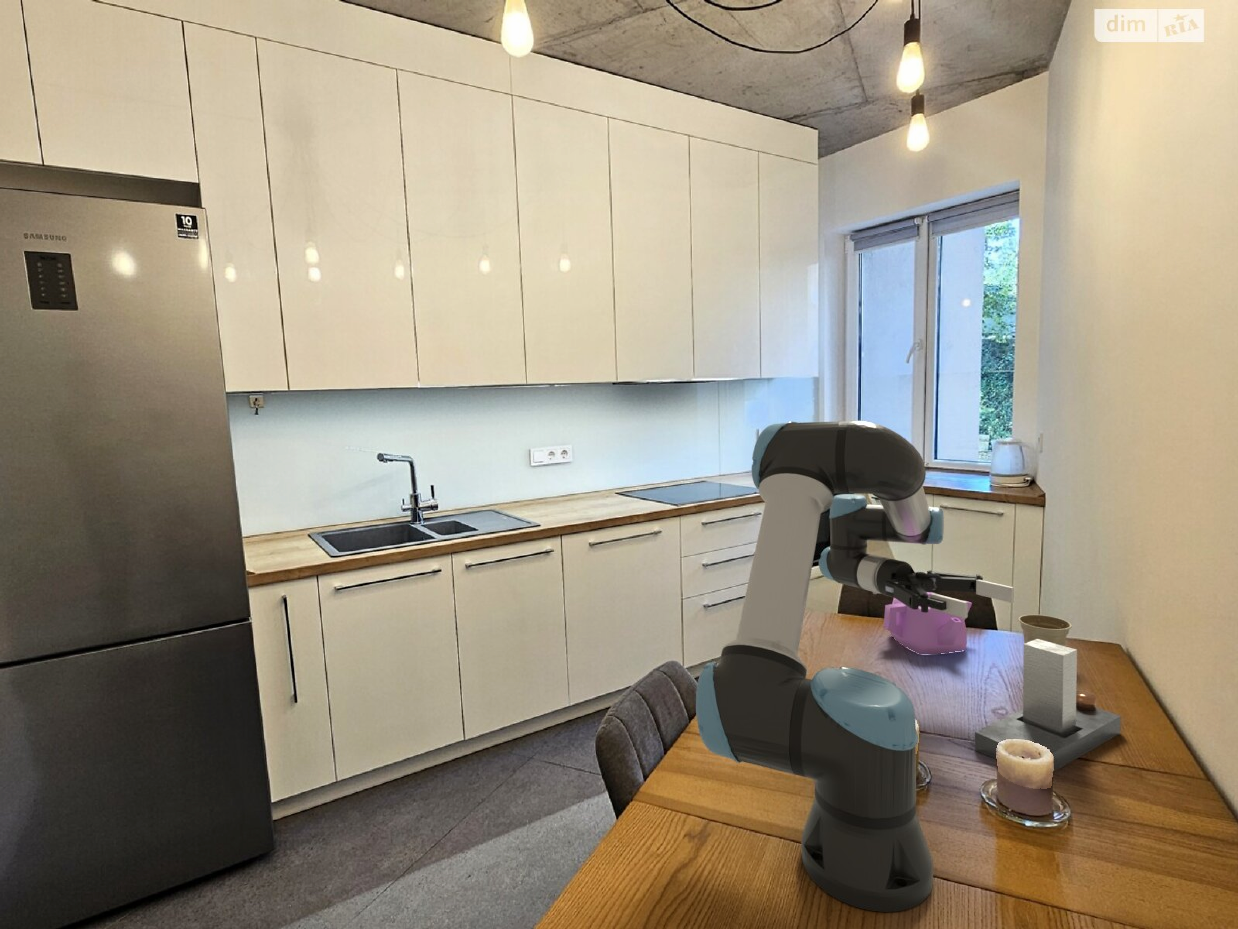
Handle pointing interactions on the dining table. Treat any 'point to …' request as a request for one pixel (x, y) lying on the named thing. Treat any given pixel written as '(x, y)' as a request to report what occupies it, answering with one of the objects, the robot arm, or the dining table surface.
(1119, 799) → the dining table surface
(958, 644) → the teakettle
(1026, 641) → the flower pot
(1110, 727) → the post stand
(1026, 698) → the white rectangular block
